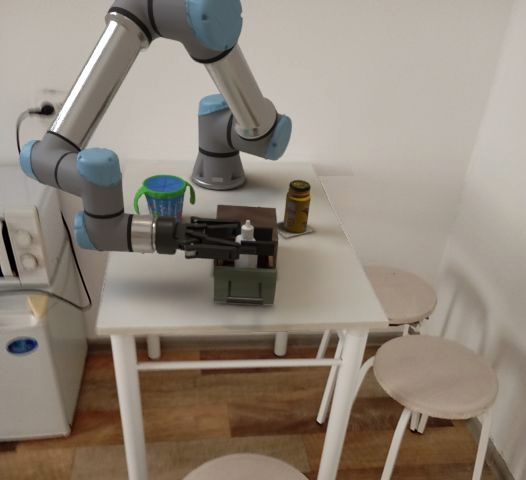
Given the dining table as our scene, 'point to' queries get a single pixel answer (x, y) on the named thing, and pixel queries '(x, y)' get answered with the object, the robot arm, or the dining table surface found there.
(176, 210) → the snack cup
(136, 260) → the dining table surface
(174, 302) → the dining table surface
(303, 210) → the condiment
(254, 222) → the cabinet
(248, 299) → the drawer
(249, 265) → the eye dropper bottle
